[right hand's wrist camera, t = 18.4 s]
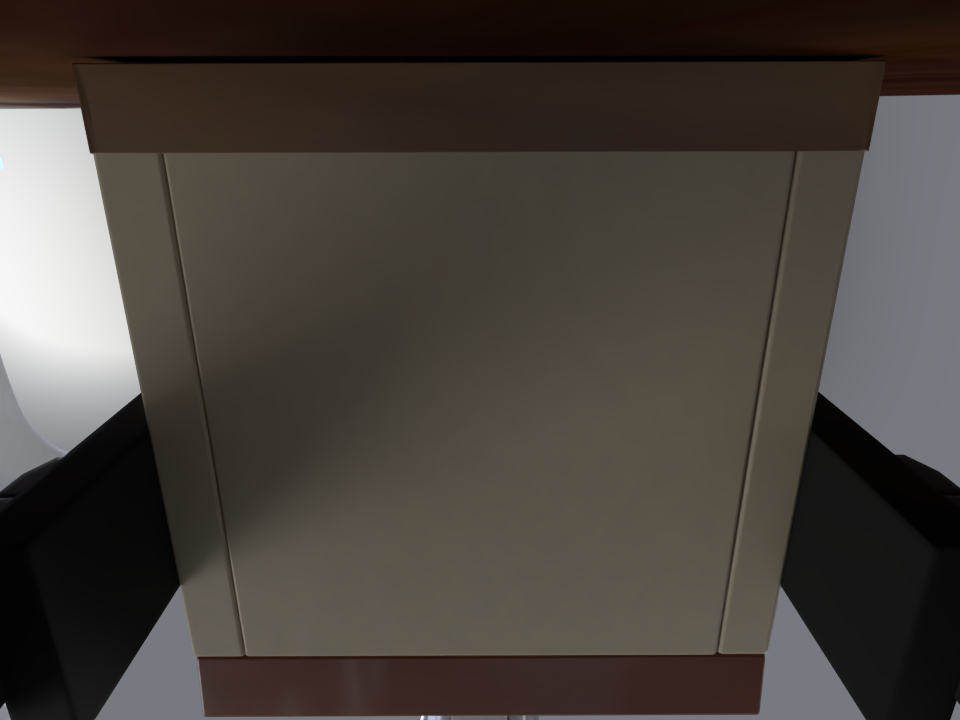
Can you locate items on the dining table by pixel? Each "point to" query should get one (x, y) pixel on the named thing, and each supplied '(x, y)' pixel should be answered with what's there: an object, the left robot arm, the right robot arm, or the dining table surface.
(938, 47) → the dining table surface
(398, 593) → the chest
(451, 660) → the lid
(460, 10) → the dining table surface
